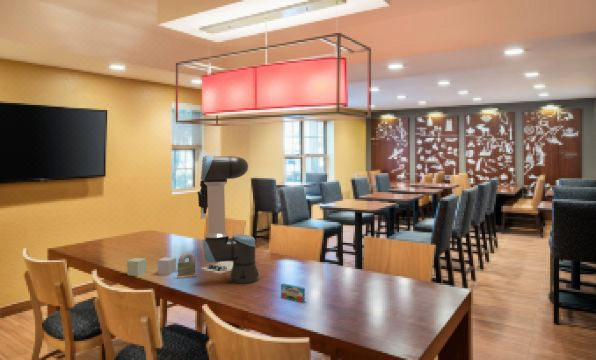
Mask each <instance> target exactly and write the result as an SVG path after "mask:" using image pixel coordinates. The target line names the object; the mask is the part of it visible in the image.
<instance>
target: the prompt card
mask: <svg viewBox="0 0 596 360" xmlns="http://www.w3.org/2000/svg"><path fill="white" fill-rule="evenodd" d="M197 276H198V275H197V272H196V260H195V261H191V262H189V261H185V262H180V263H179V262H177V274H176V279H177V280H179V279H181V280H182V279H190V278H197Z"/></svg>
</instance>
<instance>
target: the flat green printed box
mask: <svg viewBox="0 0 596 360" xmlns="http://www.w3.org/2000/svg"><path fill="white" fill-rule="evenodd" d="M305 290H306V287H301V286H298V285H294V284H293V285H292V284H288V283H281V284H280V297H281V298H282V297H283V299H286V300H292V301H295V300H296V302H299V301H300V303H304V302H305V298H306V293H305Z"/></svg>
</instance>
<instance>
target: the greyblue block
mask: <svg viewBox="0 0 596 360" xmlns="http://www.w3.org/2000/svg"><path fill="white" fill-rule="evenodd" d="M175 273H177V258H176V257H171V256H164V257H162V258H160V259H157V275H159V276H162V275H163V276H171V275H173V274H175Z"/></svg>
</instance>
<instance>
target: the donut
mask: <svg viewBox="0 0 596 360" xmlns="http://www.w3.org/2000/svg"><path fill="white" fill-rule="evenodd" d="M178 258H179V259H178V263H180V262H186V261H185V260H186V259H188V262H191V261H195V262H196V257H195V255H194V253H192V252H190V251H186V252H183V253H182V254H181V255H180V256H179V257H178Z"/></svg>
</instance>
